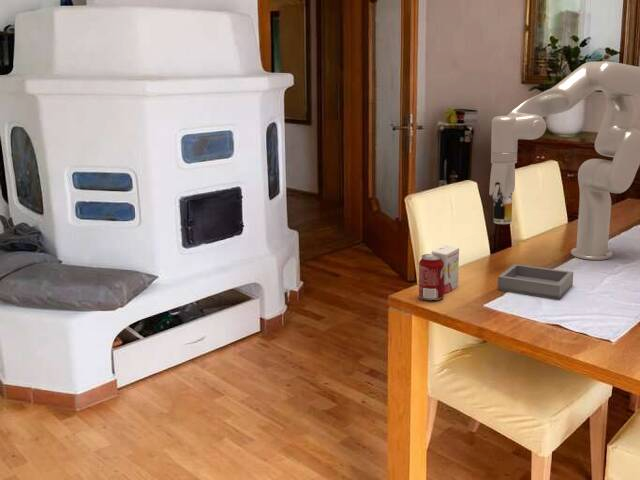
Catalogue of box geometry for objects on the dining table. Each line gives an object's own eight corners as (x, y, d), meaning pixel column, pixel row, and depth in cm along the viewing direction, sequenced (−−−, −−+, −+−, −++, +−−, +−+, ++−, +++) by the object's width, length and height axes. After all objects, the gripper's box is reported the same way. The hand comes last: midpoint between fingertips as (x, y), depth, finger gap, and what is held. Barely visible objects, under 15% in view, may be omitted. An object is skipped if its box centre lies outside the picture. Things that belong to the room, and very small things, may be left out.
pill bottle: (512, 220, 204) (512, 189, 202) (511, 224, 199) (511, 193, 197) (494, 220, 206) (494, 189, 204) (492, 224, 201) (493, 193, 199)
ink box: (445, 294, 185) (446, 254, 182) (429, 291, 188) (430, 251, 185) (459, 286, 191) (460, 246, 188) (443, 283, 194) (444, 244, 191)
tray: (513, 276, 198) (514, 263, 197) (572, 285, 188) (573, 272, 187) (497, 290, 187) (498, 276, 186) (559, 300, 177) (560, 285, 176)
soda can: (438, 303, 178) (438, 261, 175) (415, 299, 181) (415, 258, 178) (447, 296, 183) (448, 254, 180) (424, 292, 187) (425, 251, 184)
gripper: (501, 153, 206) (500, 210, 211) (481, 161, 193) (480, 221, 197) (525, 154, 202) (523, 211, 207) (506, 162, 189) (505, 223, 193)
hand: (502, 216), depth 202 cm, fingers closed on pill bottle, 5 cm apart
